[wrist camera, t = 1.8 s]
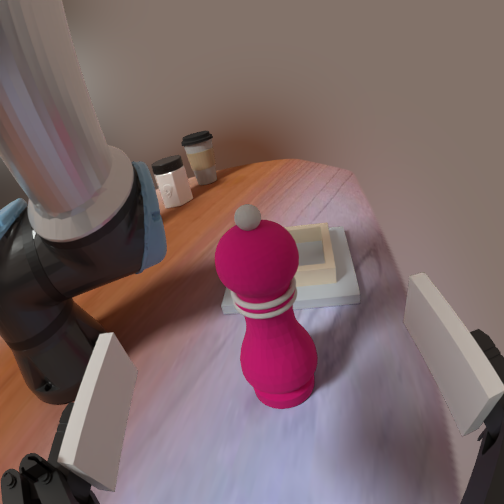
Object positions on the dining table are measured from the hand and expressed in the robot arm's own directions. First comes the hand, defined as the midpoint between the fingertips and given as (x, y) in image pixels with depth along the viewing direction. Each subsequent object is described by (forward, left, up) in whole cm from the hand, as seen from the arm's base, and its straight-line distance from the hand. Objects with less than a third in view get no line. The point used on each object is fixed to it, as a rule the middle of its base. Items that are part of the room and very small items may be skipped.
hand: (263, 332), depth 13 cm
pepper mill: (-6, +8, -19) cm, 21 cm away
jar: (-61, +42, -19) cm, 76 cm away
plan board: (-16, +26, -18) cm, 35 cm away
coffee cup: (-63, +56, -19) cm, 86 cm away
